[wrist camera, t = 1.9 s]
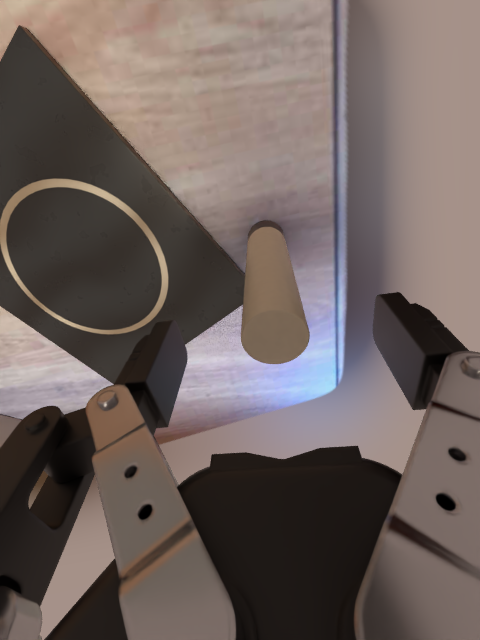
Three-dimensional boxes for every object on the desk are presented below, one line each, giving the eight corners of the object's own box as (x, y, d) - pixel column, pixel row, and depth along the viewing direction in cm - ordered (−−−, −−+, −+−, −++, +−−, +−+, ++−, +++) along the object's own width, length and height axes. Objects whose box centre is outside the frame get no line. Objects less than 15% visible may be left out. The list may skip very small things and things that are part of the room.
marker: (240, 236, 21) (226, 334, 11) (269, 212, 20) (283, 297, 10) (262, 262, 22) (268, 374, 12) (290, 241, 21) (323, 343, 11)
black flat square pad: (-86, 239, 22) (-95, 242, 22) (26, 27, 15) (17, 23, 15) (123, 385, 30) (120, 390, 30) (258, 290, 23) (258, 294, 23)
